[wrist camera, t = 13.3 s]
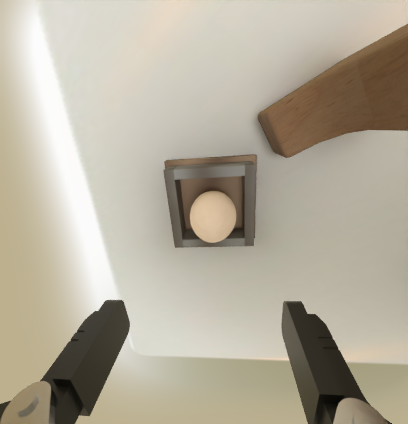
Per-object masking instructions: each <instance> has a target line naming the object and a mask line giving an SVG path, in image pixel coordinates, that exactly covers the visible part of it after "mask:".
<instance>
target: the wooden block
mask: <svg viewBox="0 0 408 424" xmlns="http://www.w3.org/2000/svg"><path fill="white" fill-rule="evenodd" d="M258 119H259V121H260V123H261V126H262V128H263V130H264V132H265V134H266V136H267V138H268V140H269V142H270V145H271V147H272V149H273V151H274V152H275V153H277V154H279V155H282V156H284V157H286V158H287V157H291V156H293V155H295V154H297V153H299V152H301V151H303V150H305V149H307V148H309V147H311V146H313V145H315V144H317V143H319V142H322V141H325V140H328V139H331V138H334V137H337V136H340V135H343V134H346V133H351V132H358V131H364V130H406V131H408V24H407V25H405V26H403V27H401V28H399V29H398V30H396V31H394V32H392V33H390V34H389V35H387V36H385V37H383V38H381V39H379V40H378V41H376V42H374V43H372V44H370V45H369V46H367V47H365V48H363V49H361V50H360V51H358V52H356V53H354V54H352V55H351V56H349V57H347V58H345V59H343V60H342V61H340V62H339V63H337V64H336V65H334V66H333V67H331V68H329V69H328V70H326V71H325V72H323V73H322V74H320V75H318V76H317V77H315V78H314V79H312V80H311V81H309V82H307V83H306V84H304V85H303V86H301V87H300V88H298V89H296V90H295V91H293V92H292V93H290V94H289V95H287V96H285V97H284V98H282V99H281V100H279V101H278V102H276V103H274V104H273V105H271V106H270V107H268V108H267V109H265V110H264V111H262V112H260V113H259V115H258Z"/></svg>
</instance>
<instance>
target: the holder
mask: <svg viewBox="0 0 408 424" xmlns="http://www.w3.org/2000/svg"><path fill="white" fill-rule="evenodd" d="M164 163H165V170H164V177H165V183H166V190H167V197H168V204H169V210H170V217H171V224H172V230H173V237H174V244H175V248H177V247H223V246H254V238H255V203H256V164H257V156H256V155H241V156H225V157H210V158H195V159H179V160H166V161H165V162H164ZM208 191H219V192H222V193H224V194H226V195H227V196H228V197H229V198H230V199H231V200H232V202H233V204H234V206H235V209H236V223H235V226H234V228H233V230H232V232H231V233H230V234H229V235H228V236H227V237H226V238H225V239H223V240H222V241H219V242H215V243H209V242H206V241H203V240H202V239H201V238H199V237H198V236H197V235H196V234H195V232H194V230H193V228H192V226H191V223H190V211H191V207H192V205H193V203H194V201H195V200H196V199H197V198H198V197H199V196H200V195H201V194H203V193H205V192H208Z"/></svg>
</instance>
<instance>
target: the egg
mask: <svg viewBox="0 0 408 424" xmlns="http://www.w3.org/2000/svg"><path fill="white" fill-rule="evenodd" d="M190 223H191V226H192V228H193V230H194V232H195V234H196V235H197V236H198V237H199V238H201V239H202V240H203V241H206V242H209V243H215V242H219V241H222V240H223V239H225V238H226V237H227V236H228V235H229V234H230V233H231V232H232V230H233V228H234V226H235V223H236V209H235V206H234V204H233V202H232V200H231V199H230V198H229V197H228V196H227V195H226V194H224V193H222V192H219V191H208V192H205V193H203V194H201V195H200V196H199V197H198V198H197V199H196V200H195V201H194V203H193V205H192V207H191V211H190Z"/></svg>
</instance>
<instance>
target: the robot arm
mask: <svg viewBox="0 0 408 424" xmlns="http://www.w3.org/2000/svg"><path fill="white" fill-rule="evenodd" d="M129 327H130V322H129V318H128V315H127V311H126V308H125V305H124V302H123V301H122V300H107V301H105V302H104V304H103V305H102V306H101V308H100V310H99V311H95V312H94V313H93V314H91V315H90V316H89V317H88V318H87V319H86V320H85V321H84V322H83V323H82V325H81V326H80V327H79V329H78V330H77V333H75V334H74V336H73V337H72V339H71V341H70V342H69V343H68V344H67V345H66V347H65V348H64V350H63V351H62V352H61V353H60V355H59V356H58V358H57V359H56V361H55V362H54V363H53V364H52V366H51V367H50V369H49V370H48V371H47V373H46V374H45V376H44V377H43V378H42V379H41V380H40V382H36V383H33V384H31V385H29V386H28V387H26V388H25V389H23V390H22V391H21V392H20V393H18V394H17V395H16V396H15V397H14V398H13V400H12V401H8V402H5V403H3V404H0V424H75V422H76V420H77V418H78V416H79V415H82V416H90V414H91V412H92V410H93V408H94V406H95V403H96V401H97V399H98V397H99V395H100V393H101V390H102V388H103V386H104V384H105V382H106V380H107V377H108V375H109V373H110V371H111V369H112V367H113V365H114V363H115V361H116V358H117V356H118V354H119V352H120V350H121V348H122V345H123V343H124V341H125V339H126V337H127V335H128V332H129ZM282 334H283V339H284V342H285V346H286V349H287V353H288V356H289V360H290V363H291V366H292V370H293V373H294V377H295V380H296V384H297V387H298V391H299V394H300V398H301V401H302V405H303V408H304V412H305V415H306V418H307V422H308V424H392V423H390V422H389V421H387V420H386V419H384V418H383V417H382V416H381V414H380V413H379V412H378V411H376V410H375V409H374V408H373V407H372V406H371V405H370V404H369V403H368V402H367V401H366V399H365V397H364V396H363V394H362V392H361V390H360V388H359V386H358V385H357V383H356V381H355V379H354V377H353V375H352V373H351V372H350V369H349V368H348V366H347V364H346V362H345V360H344V358H343V356H342V354H341V352H340V350H338V347H337V345H336V343H335V341H334V340H333V338H332V335H331V333H330V331H329V330H328V328H327V326H326V324H325V323H324V322H323V321H322V320H321V319H320V318H319V317H318V316H317V315H316V314H307V312H306V310H305V308H304V305H303V304H302V302H301V301H284V303H283V313H282Z"/></svg>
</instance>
